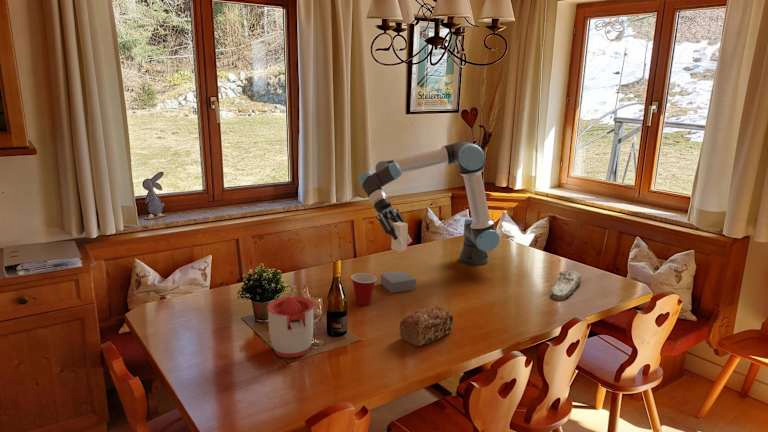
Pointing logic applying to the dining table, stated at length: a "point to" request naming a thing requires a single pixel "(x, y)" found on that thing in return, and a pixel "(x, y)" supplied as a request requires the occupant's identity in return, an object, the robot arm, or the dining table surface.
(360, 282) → the plastic cup
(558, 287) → the stone
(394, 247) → the cream pillar block
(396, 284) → the blue-grey flat block
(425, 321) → the bread
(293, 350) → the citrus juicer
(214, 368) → the dining table surface
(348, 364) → the dining table surface
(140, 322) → the dining table surface
